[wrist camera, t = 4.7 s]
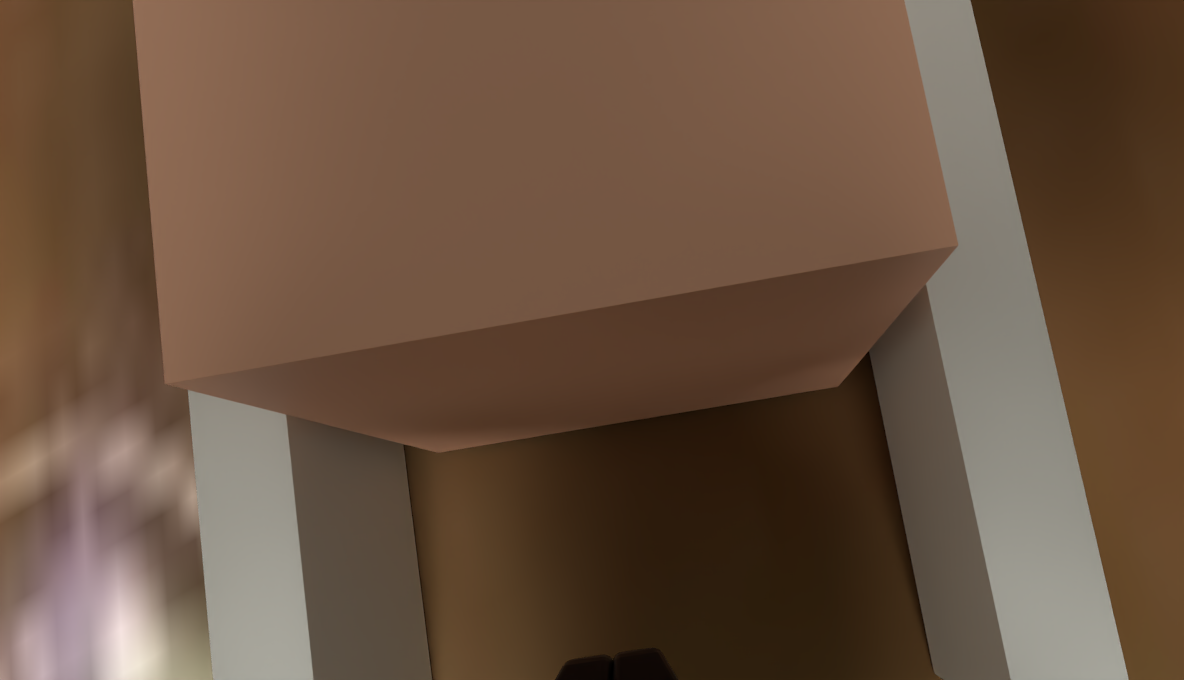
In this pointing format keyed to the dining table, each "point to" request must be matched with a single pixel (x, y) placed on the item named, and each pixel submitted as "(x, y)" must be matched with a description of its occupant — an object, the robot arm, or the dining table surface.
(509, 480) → the dining table surface
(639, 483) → the dining table surface
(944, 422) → the chute
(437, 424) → the block
